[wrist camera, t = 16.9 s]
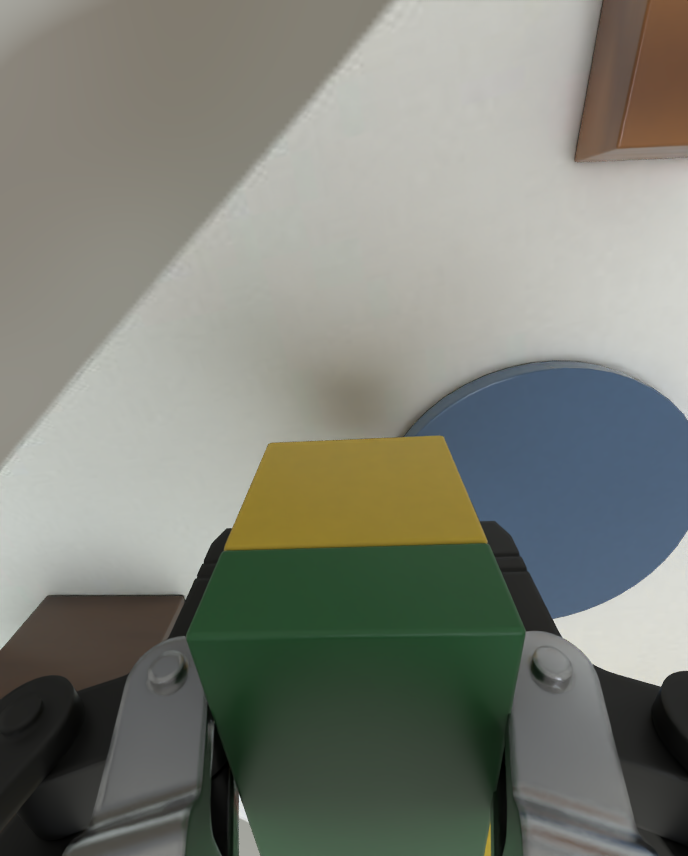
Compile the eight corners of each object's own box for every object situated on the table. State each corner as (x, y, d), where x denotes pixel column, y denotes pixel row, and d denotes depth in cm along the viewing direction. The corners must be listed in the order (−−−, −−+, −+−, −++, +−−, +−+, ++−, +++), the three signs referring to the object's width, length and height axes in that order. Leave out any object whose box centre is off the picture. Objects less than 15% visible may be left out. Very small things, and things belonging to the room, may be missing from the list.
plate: (378, 365, 17) (379, 373, 16) (737, 355, 16) (760, 362, 15) (379, 607, 23) (380, 623, 22) (638, 607, 22) (650, 623, 21)
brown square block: (607, -28, 11) (668, -92, 9) (756, -38, 11) (856, -106, 9) (572, 162, 13) (616, 149, 11) (699, 157, 13) (770, 141, 11)
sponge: (267, 441, 9) (181, 637, 5) (444, 433, 9) (529, 631, 5) (297, 622, 12) (260, 861, 7) (435, 620, 12) (484, 865, 7)
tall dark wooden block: (46, 595, 23) (-467, 1192, 9) (183, 595, 23) (-121, 1220, 8) (90, 682, 27) (-225, 1212, 12) (209, 683, 26) (28, 1232, 12)
